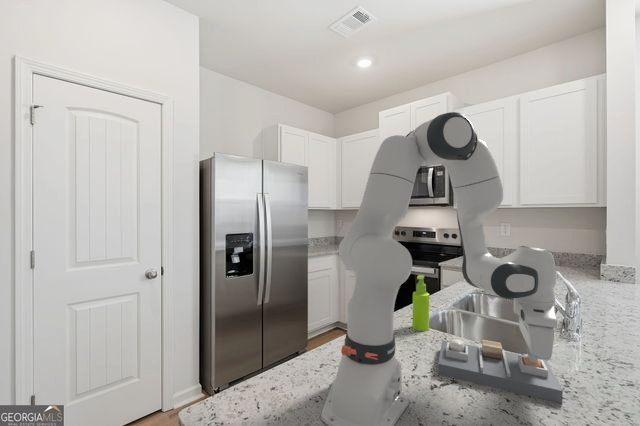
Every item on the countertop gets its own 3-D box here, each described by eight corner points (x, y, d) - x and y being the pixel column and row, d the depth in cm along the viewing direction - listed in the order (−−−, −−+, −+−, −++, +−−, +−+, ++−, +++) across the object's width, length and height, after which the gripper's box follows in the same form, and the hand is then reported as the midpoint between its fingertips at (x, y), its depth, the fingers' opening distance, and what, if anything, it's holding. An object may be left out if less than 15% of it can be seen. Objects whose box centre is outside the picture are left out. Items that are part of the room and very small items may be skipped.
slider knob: (502, 359, 84) (502, 348, 83) (482, 355, 86) (482, 345, 86) (500, 353, 87) (500, 342, 87) (482, 349, 89) (482, 339, 89)
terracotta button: (542, 373, 76) (542, 365, 76) (525, 370, 78) (525, 362, 78) (539, 367, 80) (539, 358, 80) (522, 363, 81) (523, 355, 81)
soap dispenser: (410, 330, 110) (411, 276, 110) (414, 323, 117) (414, 272, 116) (427, 333, 108) (427, 278, 107) (429, 326, 114) (430, 274, 113)
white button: (464, 353, 84) (464, 345, 84) (450, 350, 86) (450, 343, 86) (464, 348, 87) (464, 340, 87) (450, 345, 89) (450, 338, 89)
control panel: (562, 403, 70) (562, 383, 70) (438, 374, 82) (438, 357, 81) (545, 369, 84) (546, 353, 84) (442, 349, 96) (442, 334, 96)
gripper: (513, 295, 89) (512, 341, 90) (526, 319, 71) (525, 376, 71) (539, 298, 86) (538, 346, 87) (559, 323, 68) (558, 383, 68)
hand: (532, 360), depth 79 cm, fingers closed, pressing on terracotta button
